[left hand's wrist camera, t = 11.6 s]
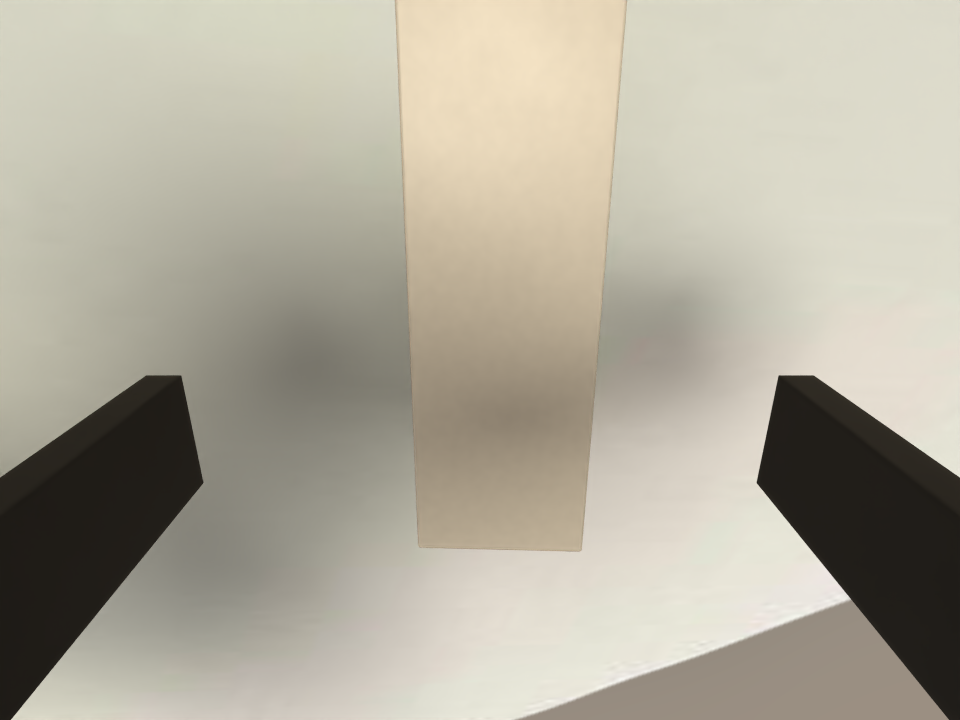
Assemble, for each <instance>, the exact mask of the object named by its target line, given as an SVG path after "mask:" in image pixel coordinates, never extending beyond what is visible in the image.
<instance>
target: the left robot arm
mask: <svg viewBox="0 0 960 720" xmlns="http://www.w3.org/2000/svg"><path fill="white" fill-rule="evenodd" d="M202 484H203V479H202V474H201V469H200V464H199V459H198V454H197V450H196V445H195V440H194V435H193V430H192V425H191V420H190V416H189V411H188V406H187V401H186V396H185V391H184V386H183V382H182V377H181V376H145V377H144V378H142V379H141V380H139V381H138V382H136V383H135V384H134V385H132V386H131V387H129V388H128V389H126V390H125V391H124V392H122V393H121V394H119V395H118V396H116V397H115V398H114V399H112V400H111V401H109V402H108V403H106V404H105V405H104V406H102V407H101V408H99V409H98V410H96V411H95V412H93V413H92V414H91V415H89V416H88V417H86V418H85V419H83V420H82V421H81V422H79V423H78V424H76V425H75V426H73V427H72V428H71V429H69V430H68V431H66V432H65V433H63V434H62V435H61V436H59V437H58V438H56V439H55V440H53V441H52V442H51V443H49V444H48V445H46V446H45V447H43V448H42V449H41V450H39V451H38V452H36V453H35V454H33V455H32V456H31V457H29V458H28V459H26V460H25V461H23V462H22V463H21V464H19V465H18V466H16V467H15V468H13V469H12V470H11V471H9V472H8V473H6V474H5V475H3V476H2V477H0V720H11V719H12V718H13V717H14V715H15V714H16V713H17V712H18V710H19V709H20V708H21V707H22V705H23V704H24V703H25V702H26V701H27V699H28V698H29V697H30V696H31V694H32V693H33V692H34V691H35V689H36V688H37V687H38V686H39V685H40V683H41V682H42V681H43V680H44V678H45V677H46V676H47V675H48V673H49V672H50V671H51V670H52V669H53V667H54V666H55V665H56V664H57V662H58V661H59V660H60V659H61V657H62V656H63V655H64V654H65V653H66V651H67V650H68V649H69V648H70V646H71V645H72V644H73V643H74V641H75V640H76V639H77V638H78V637H79V635H80V634H81V633H82V632H83V630H84V629H85V628H86V627H87V625H88V624H89V623H90V622H91V621H92V619H93V618H94V617H95V616H96V614H97V613H98V612H99V611H100V609H101V608H102V607H103V606H104V605H105V603H106V602H107V601H108V600H109V598H110V597H111V596H112V595H113V593H114V592H115V591H116V590H117V589H118V587H119V586H120V585H121V584H122V582H123V581H124V580H125V579H126V577H127V576H128V575H129V574H130V573H131V571H132V570H133V569H134V568H135V566H136V565H137V564H138V563H139V561H140V560H141V559H142V558H143V557H144V555H145V554H146V553H147V552H148V550H149V549H150V548H151V547H152V545H153V544H154V543H155V542H156V541H157V539H158V538H159V537H160V536H161V534H162V533H163V532H164V531H165V529H166V528H167V527H168V526H169V525H170V523H171V522H172V521H173V520H174V518H175V517H176V516H177V515H178V513H179V512H180V511H181V510H182V509H183V507H184V506H185V505H186V504H187V502H188V501H189V500H190V499H191V497H192V496H193V495H194V494H195V493H196V491H197V490H198V489H199V488H200V486H201V485H202ZM757 484H758V485H759V486H760V488H761V489H762V490H763V491H764V493H765V494H766V495H767V496H768V497H769V499H770V500H771V501H772V502H773V504H774V505H775V506H776V507H777V509H778V510H779V511H780V512H781V513H782V515H783V516H784V517H785V518H786V520H787V521H788V522H789V523H790V525H791V526H792V527H793V528H794V529H795V531H796V532H797V533H798V534H799V536H800V537H801V538H802V539H803V541H804V542H805V543H806V544H807V545H808V547H809V548H810V549H811V550H812V552H813V553H814V554H815V555H816V557H817V558H818V559H819V560H820V561H821V563H822V564H823V565H824V566H825V568H826V569H827V570H828V571H829V573H830V574H831V575H832V576H833V577H834V579H835V580H836V581H837V582H838V584H839V585H840V586H841V587H842V589H843V590H844V591H845V592H846V593H847V595H848V596H849V597H850V598H851V600H852V601H853V602H854V603H855V605H856V606H857V607H858V608H859V609H860V611H861V612H862V613H863V614H864V616H865V617H866V618H867V619H868V621H869V622H870V623H871V624H872V625H873V627H874V628H875V629H876V630H877V632H878V633H879V634H880V635H881V636H882V638H883V639H884V640H885V641H886V643H887V644H888V645H889V646H890V648H891V649H892V650H893V651H894V652H895V654H896V655H897V656H898V657H899V659H900V660H901V661H902V662H903V663H904V665H905V666H906V667H907V669H908V670H909V671H910V672H911V673H912V675H913V676H914V677H915V678H916V680H917V681H918V682H919V683H920V684H921V686H922V687H923V688H924V689H925V691H926V692H927V693H928V694H929V696H930V697H931V698H932V699H933V701H934V702H935V703H936V704H937V705H938V707H939V708H940V709H941V710H942V712H943V713H944V714H945V715H946V716H947V718H948V719H949V720H960V477H958V476H957V475H955V474H954V473H952V472H951V471H949V470H948V469H947V468H945V467H944V466H942V465H941V464H939V463H938V462H937V461H935V460H934V459H932V458H931V457H929V456H928V455H927V454H925V453H924V452H922V451H921V450H919V449H918V448H917V447H915V446H914V445H912V444H911V443H909V442H908V441H907V440H905V439H904V438H902V437H901V436H899V435H898V434H897V433H895V432H894V431H892V430H891V429H889V428H888V427H887V426H885V425H884V424H882V423H881V422H879V421H878V420H877V419H875V418H874V417H872V416H871V415H869V414H868V413H866V412H865V411H864V410H862V409H861V408H859V407H858V406H856V405H855V404H854V403H852V402H851V401H849V400H848V399H846V398H845V397H844V396H842V395H841V394H839V393H838V392H836V391H835V390H834V389H832V388H831V387H829V386H828V385H826V384H825V383H824V382H822V381H821V380H819V379H818V378H816V377H815V376H779V377H778V382H777V386H776V391H775V396H774V401H773V406H772V411H771V416H770V420H769V425H768V430H767V435H766V440H765V445H764V450H763V454H762V459H761V464H760V469H759V474H758V479H757Z"/></svg>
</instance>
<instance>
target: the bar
mask: <svg viewBox="0 0 960 720" xmlns="http://www.w3.org/2000/svg"><path fill="white" fill-rule="evenodd" d="M626 8H627V0H395V12H396V35H397V59H398V82H399V106H400V129H401V153H402V176H403V200H404V223H405V247H406V270H407V294H408V317H409V341H410V364H411V388H412V411H413V435H414V458H415V482H416V505H417V529H418V546H419V547H420V548H457V549H497V550H537V551H578V552H579V551H581V549H582V540H583V527H584V515H585V503H586V491H587V479H588V467H589V455H590V443H591V431H592V419H593V407H594V394H595V382H596V370H597V358H598V346H599V334H600V322H601V310H602V298H603V286H604V274H605V262H606V249H607V237H608V225H609V213H610V201H611V189H612V177H613V165H614V153H615V141H616V129H617V117H618V104H619V92H620V80H621V68H622V56H623V44H624V32H625V20H626Z"/></svg>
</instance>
